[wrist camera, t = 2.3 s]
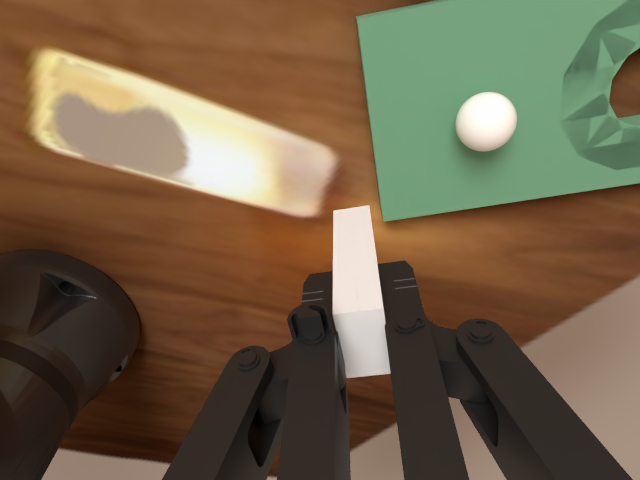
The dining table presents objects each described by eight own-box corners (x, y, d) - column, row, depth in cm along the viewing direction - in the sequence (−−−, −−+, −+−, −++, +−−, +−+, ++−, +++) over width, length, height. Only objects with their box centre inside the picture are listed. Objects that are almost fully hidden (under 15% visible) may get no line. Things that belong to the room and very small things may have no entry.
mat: (380, 209, 35) (386, 238, 32) (355, 16, 28) (359, 23, 25) (724, 156, 33) (776, 180, 29) (792, -73, 25) (872, -81, 22)
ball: (450, 144, 30) (464, 164, 27) (448, 91, 29) (462, 106, 26) (504, 135, 30) (524, 154, 27) (506, 81, 28) (527, 94, 25)
